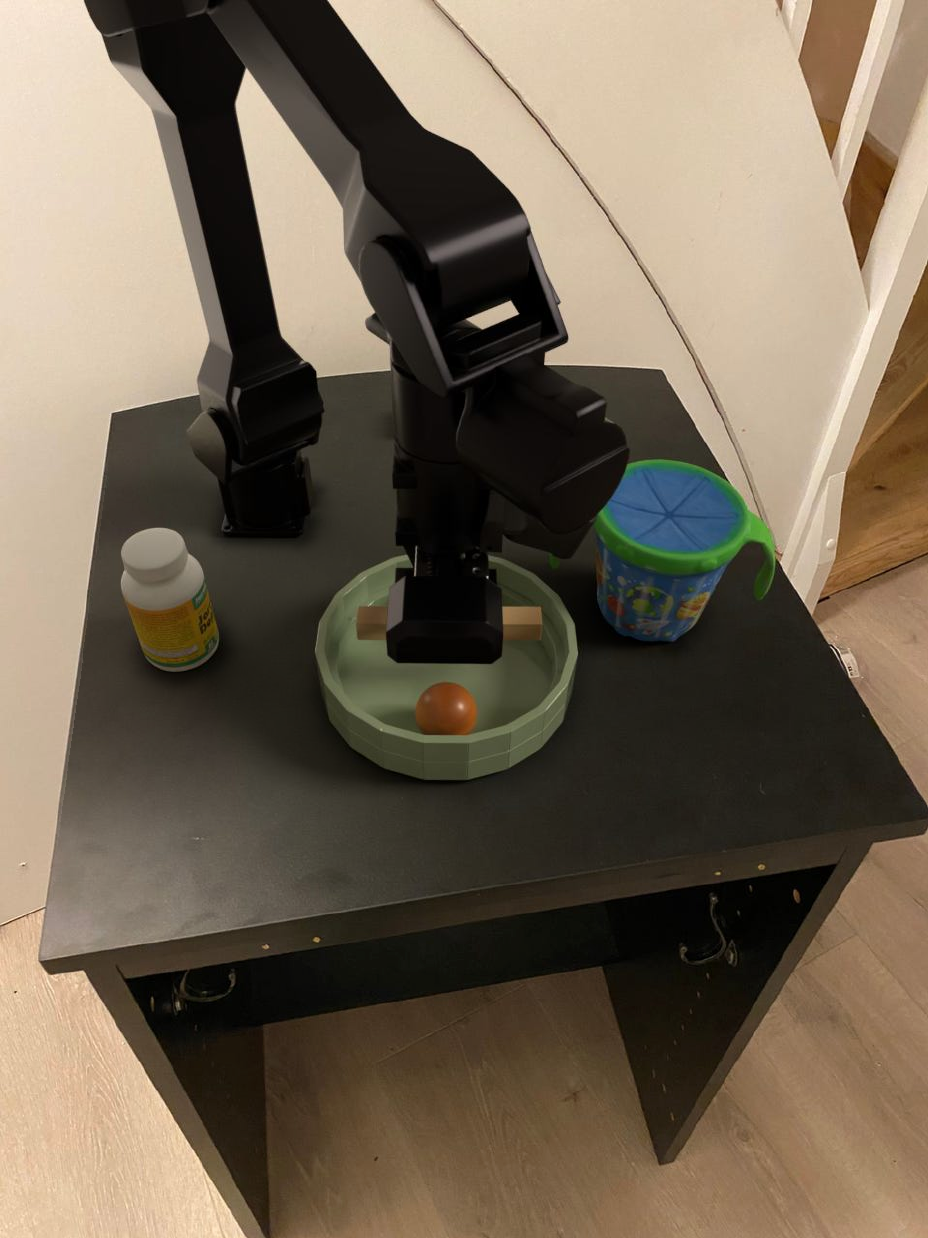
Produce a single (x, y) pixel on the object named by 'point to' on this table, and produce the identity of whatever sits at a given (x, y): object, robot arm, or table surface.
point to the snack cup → (670, 547)
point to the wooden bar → (515, 623)
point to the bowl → (503, 691)
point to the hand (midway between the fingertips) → (446, 629)
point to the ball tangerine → (446, 710)
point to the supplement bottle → (168, 600)
